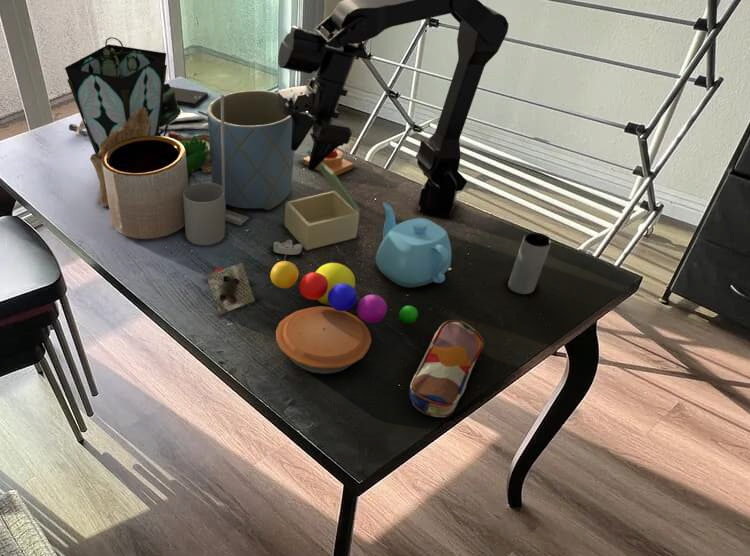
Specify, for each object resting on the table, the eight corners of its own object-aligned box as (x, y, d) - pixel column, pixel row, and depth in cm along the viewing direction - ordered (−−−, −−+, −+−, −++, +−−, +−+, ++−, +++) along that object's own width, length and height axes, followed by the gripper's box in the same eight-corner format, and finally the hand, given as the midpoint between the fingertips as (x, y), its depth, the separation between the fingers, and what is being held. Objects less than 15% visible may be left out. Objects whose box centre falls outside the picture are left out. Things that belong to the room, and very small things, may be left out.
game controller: (299, 243, 139) (299, 232, 137) (309, 276, 131) (310, 265, 129) (271, 245, 139) (272, 234, 138) (279, 278, 131) (280, 267, 129)
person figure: (121, 141, 180) (120, 129, 178) (66, 142, 181) (64, 130, 179) (126, 125, 189) (125, 113, 187) (73, 125, 190) (71, 114, 188)
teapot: (409, 190, 131) (479, 232, 119) (400, 237, 138) (465, 281, 126) (357, 209, 127) (424, 254, 115) (350, 256, 135) (413, 303, 123)
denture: (176, 146, 178) (150, 152, 174) (175, 129, 176) (149, 136, 172) (188, 150, 174) (162, 157, 170) (187, 134, 172) (161, 140, 168)
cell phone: (194, 106, 194) (194, 103, 193) (140, 97, 200) (140, 94, 200) (208, 95, 199) (208, 92, 199) (155, 87, 206) (155, 84, 205)
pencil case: (419, 307, 112) (410, 328, 115) (411, 395, 99) (402, 416, 103) (488, 322, 110) (477, 343, 114) (489, 414, 97) (476, 434, 101)
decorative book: (143, 159, 167) (144, 139, 164) (202, 145, 175) (203, 126, 171) (172, 182, 159) (173, 162, 156) (232, 167, 167) (234, 147, 163)
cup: (230, 228, 145) (230, 186, 139) (216, 248, 140) (215, 205, 133) (195, 221, 148) (192, 179, 142) (179, 240, 143) (176, 198, 136)
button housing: (353, 168, 161) (354, 156, 159) (331, 177, 159) (332, 165, 157) (323, 154, 168) (324, 142, 165) (302, 163, 165) (303, 151, 163)
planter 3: (536, 295, 122) (554, 247, 115) (509, 293, 123) (525, 245, 116) (532, 280, 125) (549, 232, 118) (506, 278, 126) (521, 231, 119)
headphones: (187, 144, 171) (134, 148, 185) (199, 93, 171) (145, 101, 185) (151, 122, 161) (98, 128, 175) (163, 68, 161) (109, 78, 175)
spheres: (285, 282, 130) (260, 292, 115) (299, 245, 128) (275, 250, 113) (411, 332, 122) (401, 349, 108) (428, 293, 120) (421, 305, 105)
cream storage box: (306, 250, 137) (308, 226, 133) (284, 225, 145) (285, 201, 141) (356, 237, 140) (359, 213, 136) (332, 213, 147) (334, 190, 143)
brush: (211, 83, 134) (251, 92, 129) (214, 206, 152) (249, 218, 148) (200, 90, 132) (241, 99, 127) (204, 214, 150) (239, 226, 146)
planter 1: (202, 204, 152) (198, 138, 142) (173, 247, 141) (166, 180, 130) (131, 194, 158) (122, 131, 147) (98, 236, 147) (85, 170, 136)
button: (339, 155, 161) (340, 148, 160) (328, 160, 159) (329, 153, 158) (328, 150, 163) (329, 143, 162) (317, 155, 162) (318, 148, 161)
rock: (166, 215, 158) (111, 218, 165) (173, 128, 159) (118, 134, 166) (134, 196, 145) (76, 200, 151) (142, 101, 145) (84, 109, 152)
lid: (331, 174, 127) (334, 172, 127) (306, 152, 135) (309, 150, 135) (358, 213, 135) (361, 211, 135) (333, 189, 143) (336, 187, 143)
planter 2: (198, 207, 152) (194, 121, 139) (225, 169, 165) (224, 86, 151) (280, 220, 146) (284, 131, 133) (302, 178, 159) (308, 94, 145)
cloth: (127, 114, 192) (126, 106, 191) (165, 100, 198) (165, 92, 197) (184, 143, 177) (183, 134, 175) (224, 126, 182) (223, 118, 181)
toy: (207, 215, 155) (235, 163, 144) (177, 220, 150) (203, 167, 139) (170, 166, 161) (193, 113, 150) (139, 169, 156) (162, 114, 145)
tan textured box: (206, 275, 122) (193, 278, 127) (219, 314, 123) (206, 316, 128) (242, 262, 125) (228, 265, 130) (255, 300, 126) (240, 302, 131)
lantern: (173, 155, 172) (164, 30, 152) (136, 184, 162) (121, 54, 142) (121, 143, 179) (105, 22, 159) (82, 170, 169) (60, 44, 149)
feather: (143, 127, 157) (150, 124, 156) (189, 128, 182) (195, 125, 181) (146, 134, 157) (153, 131, 157) (191, 134, 182) (197, 131, 181)
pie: (388, 355, 113) (392, 332, 109) (320, 397, 107) (323, 375, 103) (322, 311, 123) (324, 289, 119) (257, 347, 116) (257, 325, 113)
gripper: (274, 54, 127) (249, 135, 136) (310, 87, 113) (280, 174, 122) (326, 65, 130) (298, 143, 139) (367, 98, 116) (334, 182, 126)
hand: (301, 159), depth 131 cm, fingers open, 9 cm apart
